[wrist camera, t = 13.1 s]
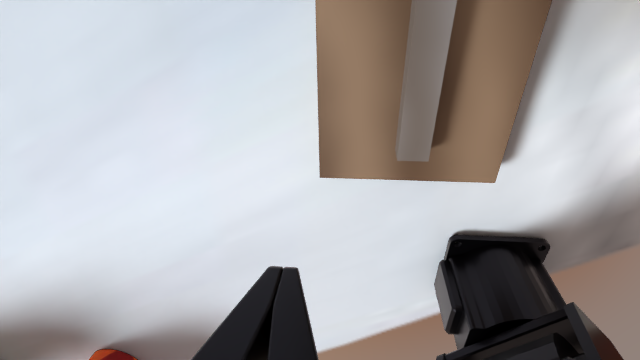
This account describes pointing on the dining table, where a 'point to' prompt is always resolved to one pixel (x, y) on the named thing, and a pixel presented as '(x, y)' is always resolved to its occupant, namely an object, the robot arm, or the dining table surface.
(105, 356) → the paper cup
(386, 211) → the dining table surface
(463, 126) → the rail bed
